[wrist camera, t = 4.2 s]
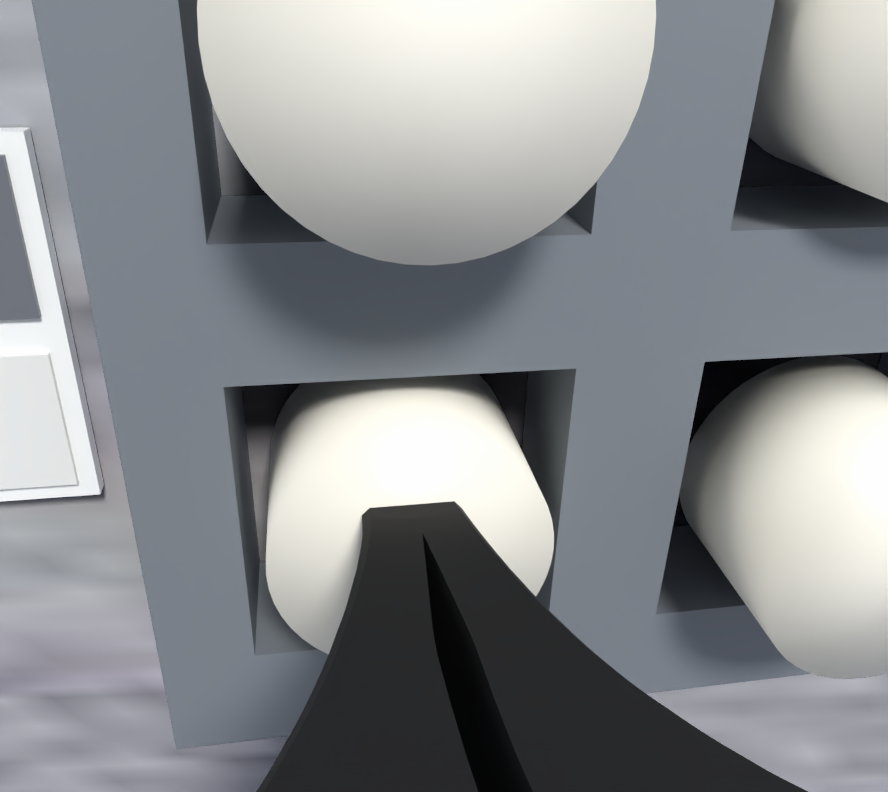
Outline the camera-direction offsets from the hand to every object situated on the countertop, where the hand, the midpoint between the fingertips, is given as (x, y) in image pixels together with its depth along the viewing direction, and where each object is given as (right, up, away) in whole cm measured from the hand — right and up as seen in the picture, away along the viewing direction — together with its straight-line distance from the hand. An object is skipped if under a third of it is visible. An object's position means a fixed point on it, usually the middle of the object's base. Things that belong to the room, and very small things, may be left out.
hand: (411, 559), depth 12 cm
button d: (0, +1, +3) cm, 3 cm away
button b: (0, +7, -2) cm, 7 cm away
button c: (+7, +1, +3) cm, 7 cm away
